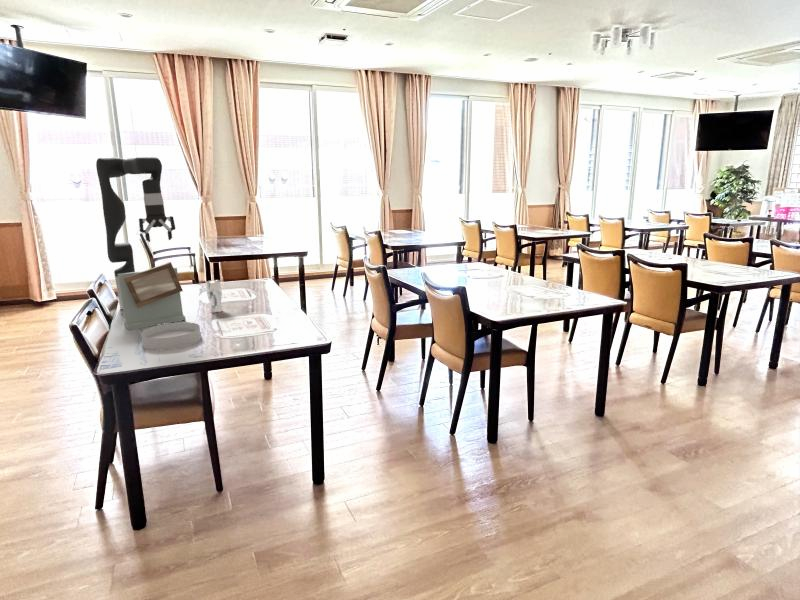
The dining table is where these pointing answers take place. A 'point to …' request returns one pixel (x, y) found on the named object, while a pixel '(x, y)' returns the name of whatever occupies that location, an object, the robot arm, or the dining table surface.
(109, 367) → the dining table surface
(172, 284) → the frame
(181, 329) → the dish
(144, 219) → the robot arm
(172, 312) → the board
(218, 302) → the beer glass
